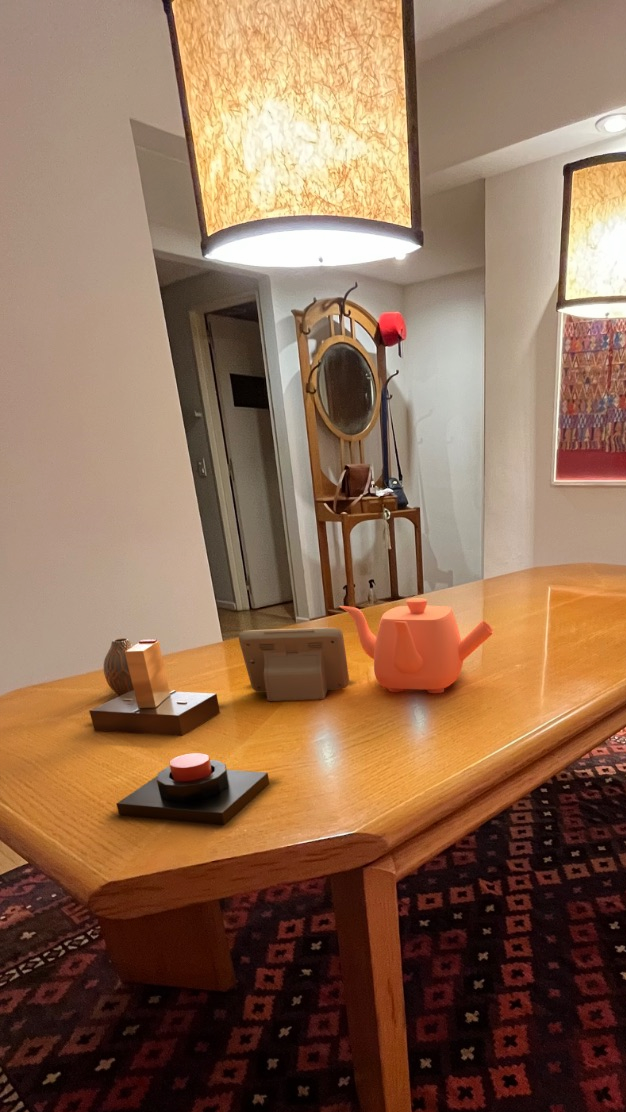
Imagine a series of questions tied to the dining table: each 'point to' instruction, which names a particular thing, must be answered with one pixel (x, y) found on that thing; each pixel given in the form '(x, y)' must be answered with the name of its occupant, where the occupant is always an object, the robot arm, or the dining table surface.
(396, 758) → the dining table surface
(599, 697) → the dining table surface
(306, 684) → the digital clock
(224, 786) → the button block
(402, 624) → the teapot
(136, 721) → the panel
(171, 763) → the button
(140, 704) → the handle
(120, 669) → the vase
